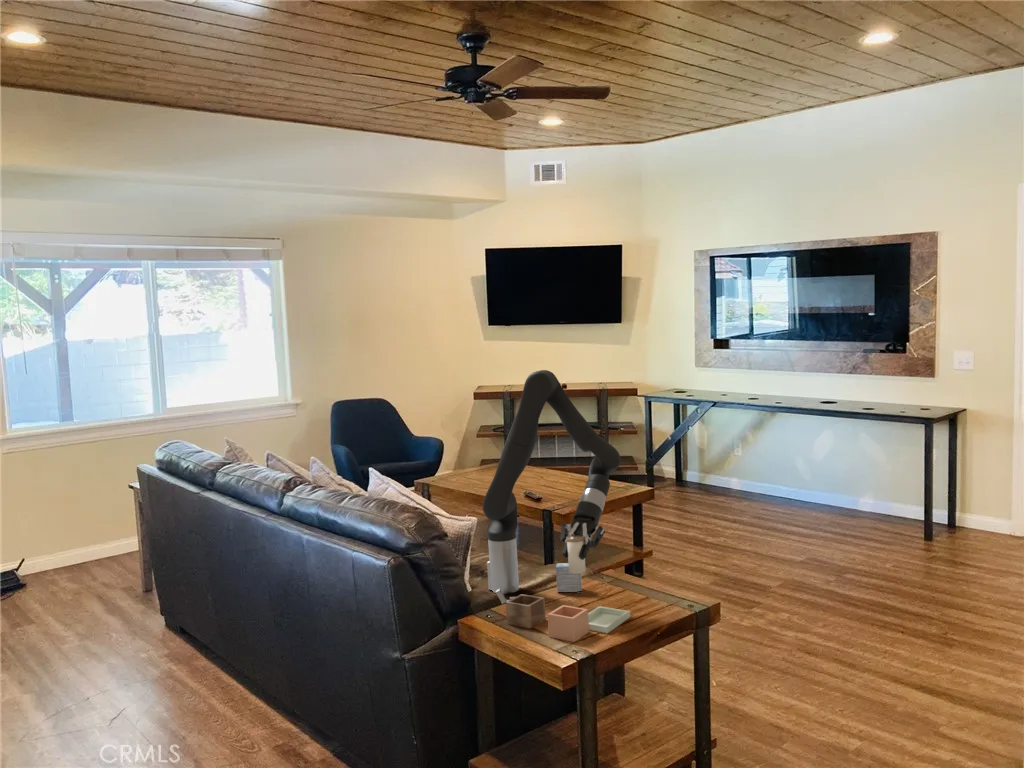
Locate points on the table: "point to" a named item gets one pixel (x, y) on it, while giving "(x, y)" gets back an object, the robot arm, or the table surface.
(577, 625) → the pink square bin
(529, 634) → the table surface
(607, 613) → the sage tray
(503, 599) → the lighter
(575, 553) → the cream canister
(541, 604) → the brown open square box
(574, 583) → the medicine box
